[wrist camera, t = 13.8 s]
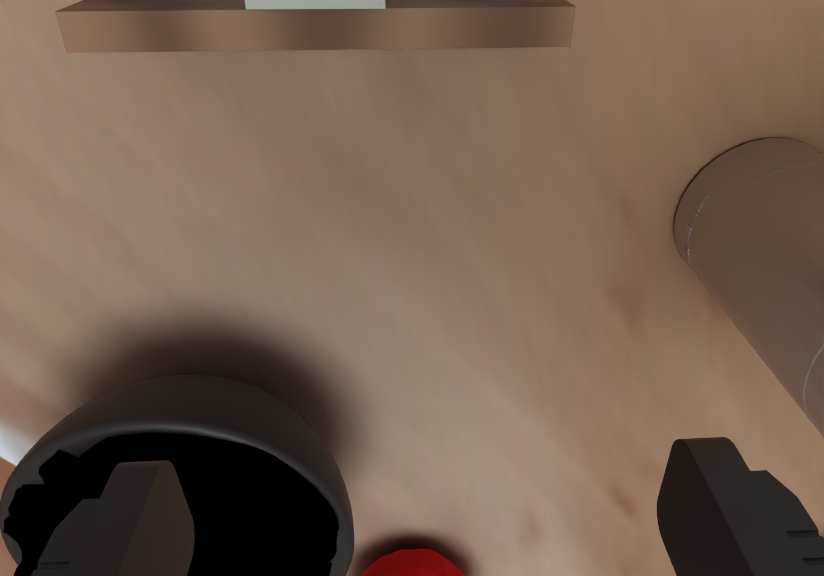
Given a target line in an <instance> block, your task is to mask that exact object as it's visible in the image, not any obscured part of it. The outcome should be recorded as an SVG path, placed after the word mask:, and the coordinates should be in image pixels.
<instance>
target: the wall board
mask: <svg viewBox="0 0 824 576" xmlns="http://www.w3.org/2000/svg"><path fill="white" fill-rule="evenodd" d="M55 13H56V17H57V20H58V24H59V27H60V31H61V34H62V38H63V41H64V45H65V48H66V52H67V53H78V52H164V51H251V50H337V49H424V48H510V47H570V46H571V38H572V30H573V22H574V14H575V6H574V5H572V4H571V3H569V2H568V1H566V0H385V9H246V7H245V0H83V1H80V2H78V3H75V4H73V5H70V6H68V7H65V8H63V9H60V10H58V11H56V12H55Z"/></svg>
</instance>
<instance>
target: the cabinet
mask: <svg viewBox="0 0 824 576" xmlns="http://www.w3.org/2000/svg"><path fill="white" fill-rule="evenodd" d="M245 7H246V9H385V0H245Z"/></svg>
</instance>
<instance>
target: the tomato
mask: <svg viewBox="0 0 824 576" xmlns="http://www.w3.org/2000/svg"><path fill="white" fill-rule="evenodd" d="M360 576H465V575H464V574H463V572H462V571H461V570H460V569H459V568H458V567H456V566H455V565H454V564H453V563H452V562H450V561H449V560H448V559H446V558H445V557H443V556H442V555H440V554H439V553H437V552H435V551H433V550H431V549H402V550H398V551H396V552H393V553H391V554H388V555H385V556H383V557H380V558H379V559H378V560H377V561H376V562H374V563H373V564H372V565H371V566H370V567H368V568H367V569H366V570H365V571H364V572H363V573H361V574H360Z"/></svg>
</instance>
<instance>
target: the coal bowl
mask: <svg viewBox="0 0 824 576" xmlns="http://www.w3.org/2000/svg"><path fill="white" fill-rule="evenodd" d="M167 460H168V461H170V462H171V463H172V464H173V465H174V468H175V470H176V473H177V476H178V479H179V482H180V484H181V487H182V490H183V493H184V496H185V498H186V501H187V504H188V507H189V510H190V512H191V515H192V518H193V523H194V533H195V538H194V550H193V555H192V560H191V563H190V567H189V570H188V574H187V576H345V575H346V574H347V571H348V569H349V566H350V563H351V560H352V556H353V551H354V526H353V516H352V510H351V505H350V501H349V497H348V493H347V489H346V486H345V483H344V481H343V478H342V476H341V473H340V471H339V468H338V466H337V463H336V462H335V460H334V458H333V456H332V455H331V453H330V451H329V449H328V448H327V446H326V444H325V443H324V442H323V440H322V439H321V437H320V436H319V435H318V434H317V432H316V431H315V430H314V429H313V428H312V427H311V425H310V424H309V423H308V422H307V421H306V420H305V419H304V418H303V417H302V416H300V415H299V414H298V413H297V412H296V411H295V410H293V409H292V408H291V407H290V406H288V405H287V404H286V403H284V402H283V401H281V400H280V399H278V398H276V397H275V396H273V395H271V394H269V393H267V392H265V391H263V390H261V389H259V388H256V387H254V386H252V385H249V384H246V383H243V382H240V381H236V380H232V379H229V378H223V377H218V376H210V375H200V374H178V375H168V376H161V377H156V378H150V379H145V380H141V381H138V382H134V383H131V384H128V385H125V386H123V387H120V388H117V389H115V390H112V391H110V392H107V393H105V394H103V395H101V396H100V397H98V398H96V399H94V400H92V401H90V402H88V403H86V404H85V405H83V406H82V407H80V408H78V409H77V410H75V411H74V412H72V413H71V414H70V415H68V416H67V417H65V418H64V419H63V420H61V421H60V422H59V423H58V424H57V425H55V426H54V427H53V428H52V429H51V430H50V431H48V432H47V433H46V434H45V435H44V436H43V437H42V438H41V439H40V440H39V441H38V442H37V443H36V444H35V445H34V446H33V447H32V448H31V449H30V450H29V452H28V453H27V454H26V455H25V456H24V457H23V459H22V460H21V461H20V462H19V464H18V465H17V466H16V468H15V469H14V471H13V472H12V474H11V475H10V477H9V478H8V480H7V483H6V485H5V488H4V490H3V493H2V498H1V501H0V529H1V533H2V537H3V539H4V542H5V545H6V547H7V549H8V551H9V552H10V554H11V556H12V558H13V559H14V560H15V562H16V563H17V564H18V567H17V569H16V571H15V573H14V576H31V574H32V573H33V571H34V570H36V569H37V567H38V561H39V559H40V557H41V555H42V553H43V551H44V549H45V547H46V545H47V543H48V541H49V539H50V537H51V535H52V533H53V531H54V529H55V528H56V527H57V526H58V525H59V524H60V523H61V522H62V521H63V520H64V519H65V518H66V516H67V515H68V514H69V513H70V512H71V511H72V510H73V509H74V508H75V507H76V506H77V505H78V504H79V503H80V502H81V501H82V500H83V499H100V497H101V495H102V493H103V490H104V488H105V486H106V484H107V482H108V480H109V477H110V475H111V473H112V471H113V470H114V468H115V467H116V466H117V465H118V464H120V463H123V462H144V461H167Z"/></svg>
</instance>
